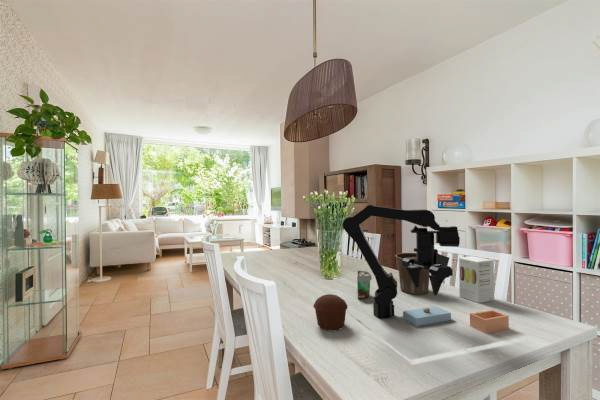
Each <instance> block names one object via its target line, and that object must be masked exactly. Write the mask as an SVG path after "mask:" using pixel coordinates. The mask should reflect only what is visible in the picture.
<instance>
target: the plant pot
mask: <svg viewBox="0 0 600 400" xmlns="http://www.w3.org/2000/svg"><path fill="white" fill-rule="evenodd" d="M394 257H396V265H397V268H398V276H399V287H400V291H402V292H404V293H405V294H410V295H423V294H427V293H428V292H429V287H430V286H429V285H430V278H429V275H431V274H430V272H429V270H427V269H424V268H422V269H421V271H420V276H419V287H418V288H416V287H415V285H414V283H413V281H412V279H411V277H410V275H409V274H408V272H407V270H406V269H405V267H406V266H403V265H402V260H403V259H404V258H408V257H416V258H417V252H401V253H397V254H395V255H394ZM427 267H428V266H427Z"/></svg>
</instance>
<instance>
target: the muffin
mask: <svg viewBox="0 0 600 400" xmlns="http://www.w3.org/2000/svg"><path fill="white" fill-rule="evenodd" d="M313 308H314V311H315V316H316V322H317V326H318V325H319V326H320V327H319V326H318V327H319V328H320V329H321V328H322V330H325V331H334V330H336V331H339V330H341V328H342V327H344V326H345V322H346V314H347V310H348V304H347V303H346V301H345V299H343V298H342V297H340V296H339V295H337V294H332V293H331V294H328V293H327V294H323V295H321V296H319V297H318V298H316V300H315V302H314V303H313ZM342 329H343V328H342Z"/></svg>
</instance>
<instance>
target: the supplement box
mask: <svg viewBox="0 0 600 400" xmlns="http://www.w3.org/2000/svg"><path fill="white" fill-rule="evenodd" d="M458 258H459V259H458V261H459V263H458V265H459V267H458V268H459V269H458V271H459V275H458V276H459V287H458V288H459V291H458V292H459V297H461V298H463V299H466V300H469V301H471V302H474V303H477V304H482V303H487V302H492V301H495V267H494V266H495V262H494V261H495V260H493V259H490V258H484V257H479V256H473V255H472V256H464V257H458Z"/></svg>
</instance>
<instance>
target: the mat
mask: <svg viewBox="0 0 600 400" xmlns="http://www.w3.org/2000/svg"><path fill="white" fill-rule="evenodd" d="M398 318H399V319H400V320H402V321H403V322H405V323H406V324H407V323H408V324H409V325H411V326H412V327H414V328H415V329H423V328H428V327H434V326H440V325H445V324H451V323H452V324H453V323H457V320H455V319H453V318H451V320H449V321H443V322H437V323H432V324H426V325H420V326H415V325H414V324H412V323H410V322H409V321H407V320H405V319H404V318H403V315H402V316H398Z"/></svg>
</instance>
